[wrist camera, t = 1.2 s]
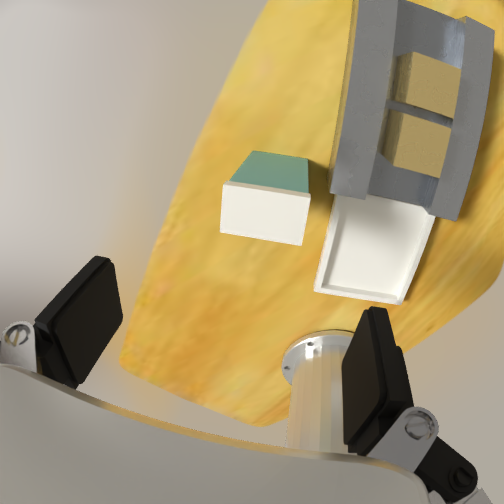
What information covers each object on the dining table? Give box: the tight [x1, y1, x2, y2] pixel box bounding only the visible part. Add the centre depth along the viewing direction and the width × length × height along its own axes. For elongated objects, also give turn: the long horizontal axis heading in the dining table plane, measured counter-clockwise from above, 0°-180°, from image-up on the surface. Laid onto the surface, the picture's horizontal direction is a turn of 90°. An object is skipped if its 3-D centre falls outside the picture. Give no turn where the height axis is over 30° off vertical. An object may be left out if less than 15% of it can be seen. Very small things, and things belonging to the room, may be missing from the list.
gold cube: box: [392, 52, 461, 119], centre depth 19 cm, size 4×4×4 cm
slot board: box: [327, 0, 495, 221], centre depth 21 cm, size 18×12×4 cm, turn 174°
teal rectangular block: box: [220, 151, 311, 246], centre depth 24 cm, size 3×5×11 cm, turn 84°
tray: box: [314, 194, 436, 305], centre depth 30 cm, size 11×10×2 cm
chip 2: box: [381, 109, 451, 178], centre depth 21 cm, size 4×4×4 cm
